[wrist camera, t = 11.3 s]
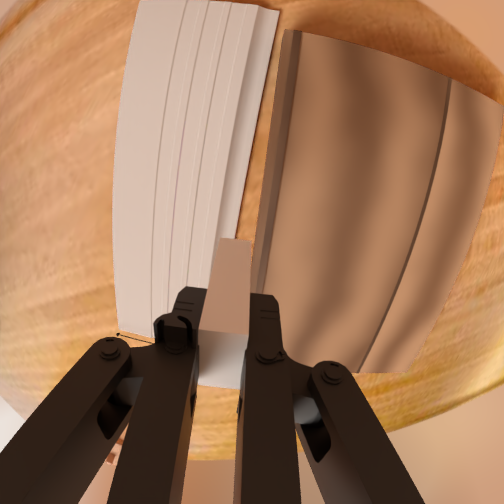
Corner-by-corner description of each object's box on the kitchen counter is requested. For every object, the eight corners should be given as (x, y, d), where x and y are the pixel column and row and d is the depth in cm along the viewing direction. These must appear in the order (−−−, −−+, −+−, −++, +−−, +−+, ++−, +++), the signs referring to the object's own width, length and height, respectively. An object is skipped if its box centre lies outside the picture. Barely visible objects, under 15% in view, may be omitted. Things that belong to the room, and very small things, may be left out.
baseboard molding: (298, 18, 18) (146, 5, 17) (302, 7, 15) (132, -5, 14) (230, 344, 32) (123, 320, 31) (227, 364, 29) (114, 338, 28)
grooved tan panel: (240, 344, 31) (237, 366, 28) (282, 38, 18) (285, 28, 15) (399, 353, 31) (407, 373, 28) (484, 103, 18) (505, 106, 15)
